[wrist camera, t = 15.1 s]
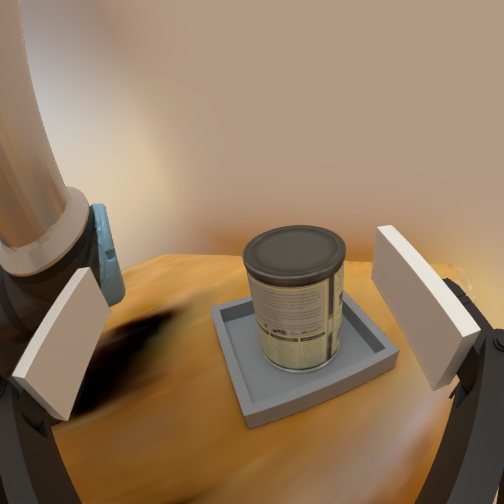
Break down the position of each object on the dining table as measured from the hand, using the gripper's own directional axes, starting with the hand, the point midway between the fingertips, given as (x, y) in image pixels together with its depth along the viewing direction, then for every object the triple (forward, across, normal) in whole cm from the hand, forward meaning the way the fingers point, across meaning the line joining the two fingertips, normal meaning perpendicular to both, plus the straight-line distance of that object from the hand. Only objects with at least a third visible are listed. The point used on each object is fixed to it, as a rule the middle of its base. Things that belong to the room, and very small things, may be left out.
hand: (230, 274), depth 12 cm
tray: (+14, +4, -22) cm, 27 cm away
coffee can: (+14, +5, -22) cm, 27 cm away
